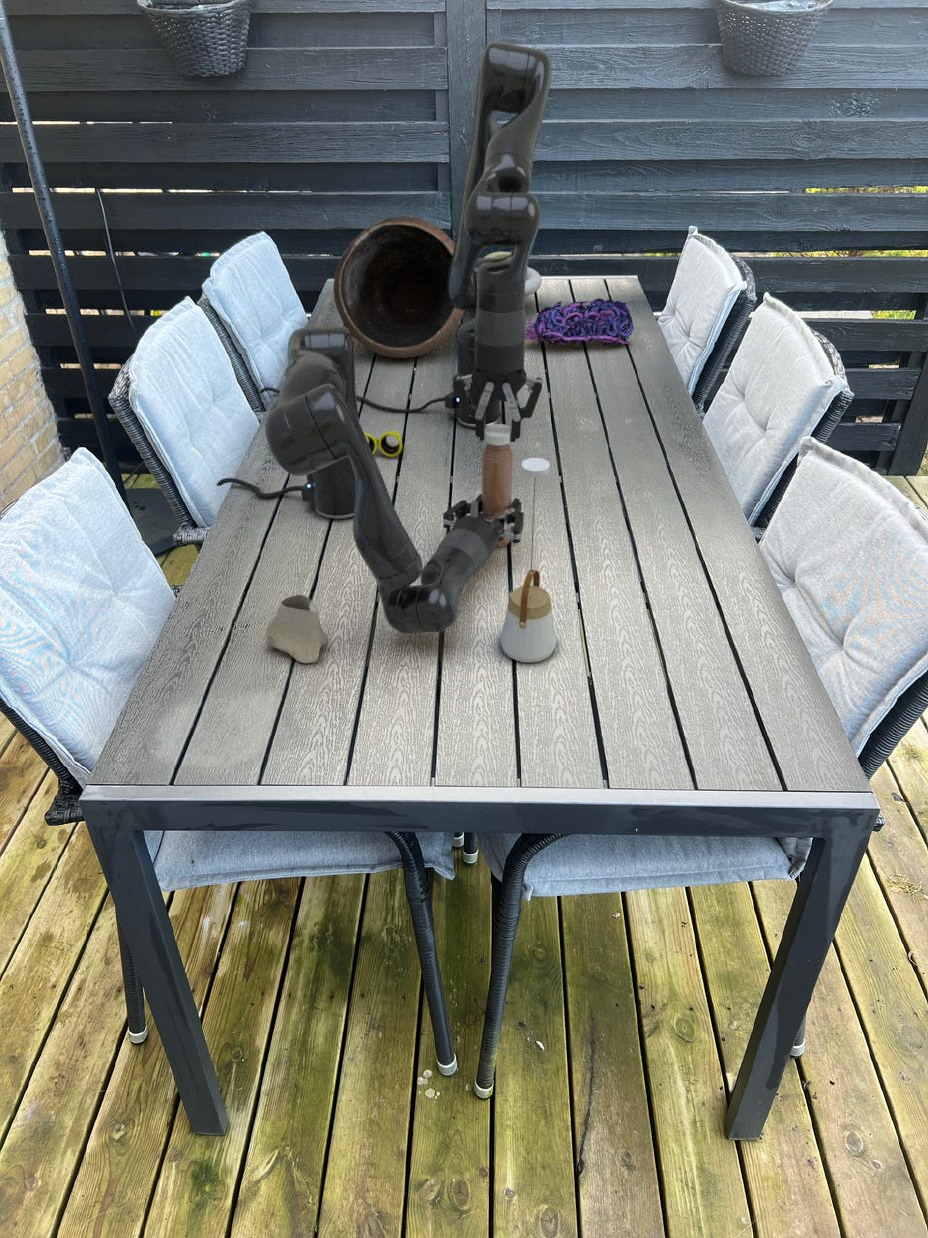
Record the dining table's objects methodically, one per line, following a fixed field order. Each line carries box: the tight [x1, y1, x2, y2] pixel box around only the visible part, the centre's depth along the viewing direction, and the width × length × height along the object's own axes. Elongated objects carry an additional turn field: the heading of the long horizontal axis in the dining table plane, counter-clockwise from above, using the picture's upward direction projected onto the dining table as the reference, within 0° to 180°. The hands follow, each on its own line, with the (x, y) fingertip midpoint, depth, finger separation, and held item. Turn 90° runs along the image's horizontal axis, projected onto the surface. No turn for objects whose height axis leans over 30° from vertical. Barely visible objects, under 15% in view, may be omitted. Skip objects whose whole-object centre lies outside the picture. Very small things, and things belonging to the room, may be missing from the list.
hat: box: [483, 251, 543, 301], centre depth 248 cm, size 25×22×15 cm
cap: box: [483, 423, 512, 445], centre depth 149 cm, size 5×5×2 cm
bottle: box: [481, 443, 514, 548], centre depth 155 cm, size 5×5×20 cm
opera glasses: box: [364, 430, 403, 458], centre depth 185 cm, size 10×5×5 cm, turn 95°
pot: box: [333, 215, 466, 359], centre depth 229 cm, size 32×32×30 cm
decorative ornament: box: [525, 298, 634, 347], centre depth 229 cm, size 13×11×30 cm
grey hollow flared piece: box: [265, 594, 328, 664], centre depth 135 cm, size 9×8×10 cm
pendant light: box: [499, 457, 557, 663], centre depth 128 cm, size 8×8×30 cm
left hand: (501, 499), depth 159 cm, fingers closed on bottle, 5 cm apart
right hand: (497, 438), depth 149 cm, fingers closed on cap, 4 cm apart
